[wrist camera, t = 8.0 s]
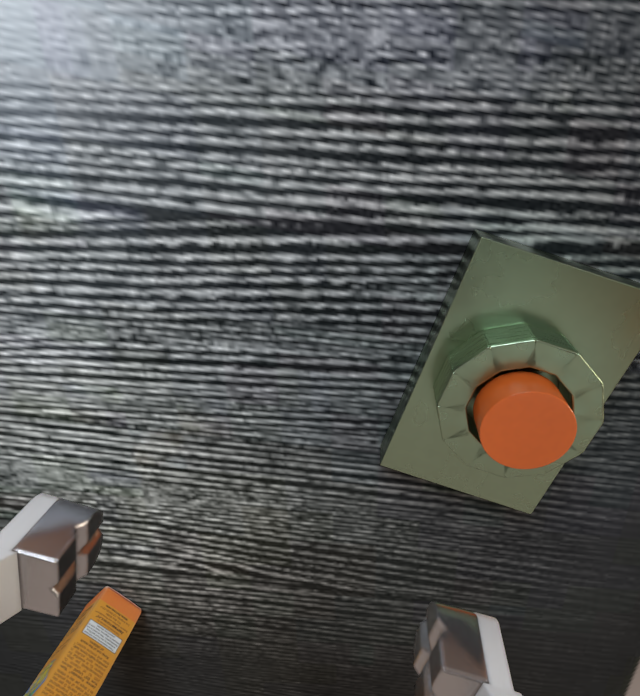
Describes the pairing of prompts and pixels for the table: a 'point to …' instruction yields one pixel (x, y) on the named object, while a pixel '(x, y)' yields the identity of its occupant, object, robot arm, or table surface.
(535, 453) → the button
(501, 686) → the robot arm
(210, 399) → the table surface
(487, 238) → the button box
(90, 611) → the supplement box
